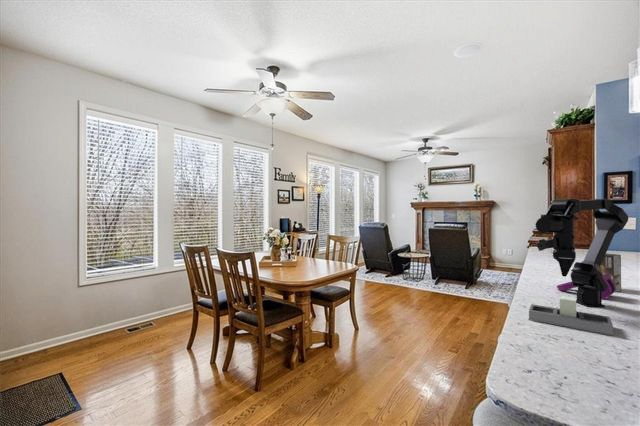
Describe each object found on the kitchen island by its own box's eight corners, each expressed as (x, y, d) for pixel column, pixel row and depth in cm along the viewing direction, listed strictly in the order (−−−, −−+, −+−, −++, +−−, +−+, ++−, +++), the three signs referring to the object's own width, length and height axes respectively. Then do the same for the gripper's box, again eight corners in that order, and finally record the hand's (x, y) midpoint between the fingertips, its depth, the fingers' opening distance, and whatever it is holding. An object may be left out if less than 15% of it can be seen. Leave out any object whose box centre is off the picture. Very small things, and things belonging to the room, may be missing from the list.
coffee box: (622, 290, 131) (622, 254, 131) (614, 292, 129) (614, 255, 129) (596, 285, 140) (596, 252, 140) (588, 287, 138) (588, 252, 137)
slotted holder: (609, 326, 92) (609, 316, 92) (613, 335, 86) (613, 325, 85) (531, 312, 105) (531, 304, 105) (528, 319, 98) (528, 310, 98)
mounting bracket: (563, 306, 130) (614, 297, 116) (553, 287, 132) (601, 276, 119) (570, 302, 135) (620, 293, 121) (560, 284, 138) (608, 273, 124)
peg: (560, 319, 98) (559, 295, 98) (575, 322, 96) (575, 298, 96) (559, 323, 95) (559, 298, 95) (576, 326, 93) (576, 301, 93)
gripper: (539, 230, 122) (539, 267, 122) (535, 233, 108) (535, 275, 108) (574, 231, 115) (574, 271, 115) (575, 234, 101) (575, 280, 101)
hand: (564, 274), depth 110 cm, fingers open, 9 cm apart
